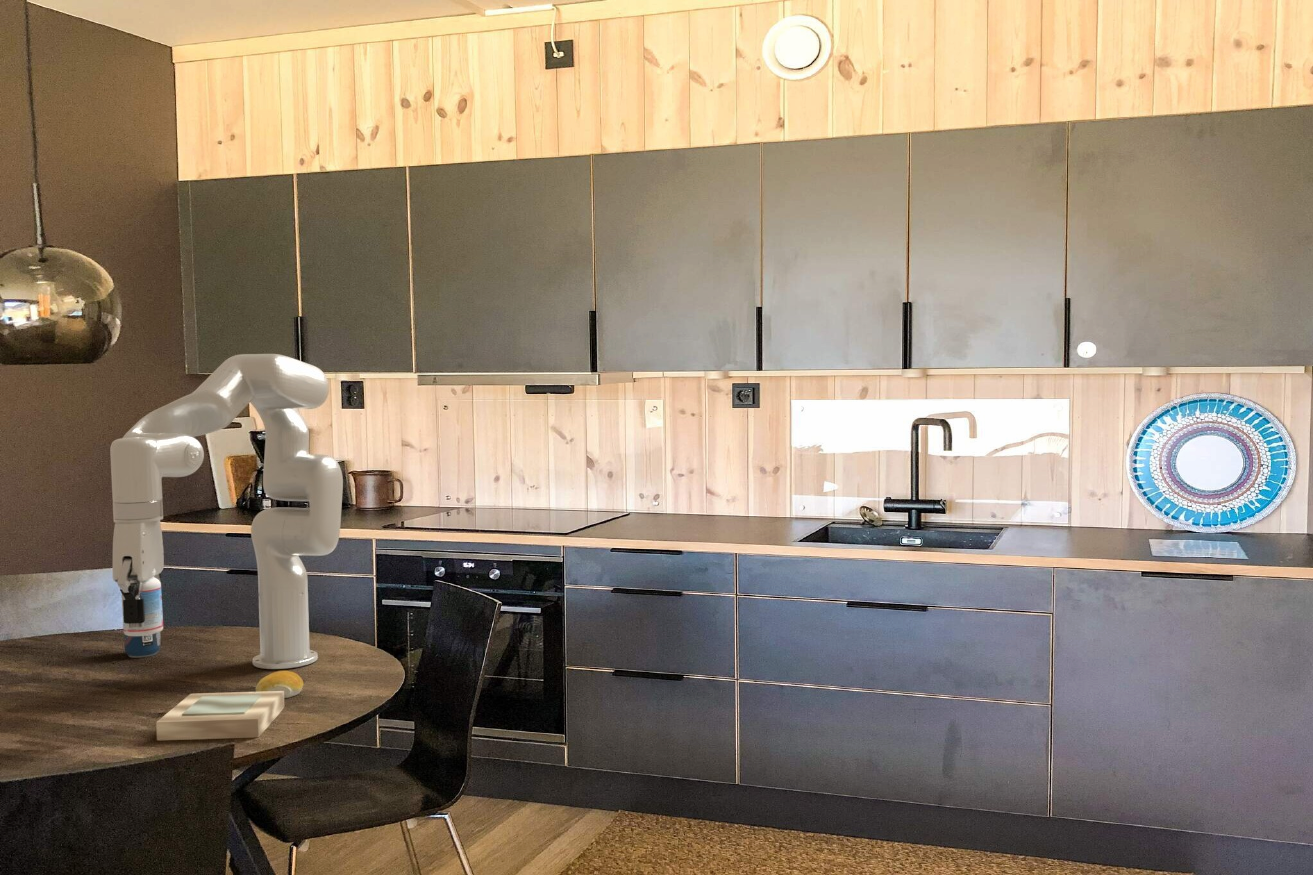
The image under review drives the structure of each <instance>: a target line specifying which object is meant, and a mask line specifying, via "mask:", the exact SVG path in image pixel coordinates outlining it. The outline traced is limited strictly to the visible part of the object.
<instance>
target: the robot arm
mask: <svg viewBox="0 0 1313 875" xmlns="http://www.w3.org/2000/svg"><path fill="white" fill-rule="evenodd" d="M329 392H330V385H329V380H328V378H327V376H326V374H325V373H324V372H323V371H322V369H321V368H320V367H317V366H315V365H313V364H310V363H307V362H304V361H301V360H299V359H296V358H293V357H291V356H287V355H283V354H279V353H278V354H277V353H241V354H234V355H233V356H230V357H229V358H227V359H225V360H224V361H223V362H222V363H221V364H220V365H219V366H218V367H217V368H216V369H215V370H214V371H213V372H212V373H211V374H210V375H209V376H208V377H207V378H206V379H205V380H204V381H203V382H202V383H201V384H200V385H199V386H198V387H197V388H196V389H195V390H193V392H191V393H190V394H187V395H184V396H182V397H180V398H177V399H176V400H174V401H172V402H170V403H167V404H165V405H163V406H161V407H158V408H157V409H154V410H153V411H151V412H149V413H147V414H146V415H145V416H143V417H142V418H140V419H139V420H138V421H137V422H136V423H135V424H134V425H133V426H132V427H130V428H129V430H128V431H127V432H125V434H124V435H123V437H122V438H117V439H115V440H113V441H112V442H111V445H110V448H109V449H110V450H109V452H110V453H109V454H110V469H111V470H110V471H111V491H112V492H111V494H112V514H113V516H112V517H113V522H114V528H113V537H112V579H113V581H114V582H115V583H116V584H117V586H118V588H119V590H120V594H121V593H122V594H121V601H122V600H123V612H122V616H123V615H124V623H126V624H132V623H143V622H144V621H145V612H144V599H141V596H142V587H143V581H145V580H148V579H149V578H151V577H153V576H154V578H157V579H158V580H159V581H160V583H161V584H162V582H161V578H162V571H163V570H164V565H165V561H164V560H165V559H164V558H165V555H164V541H163V532H162V530H163V529H162V524H161V520H164V509H163V508H164V505H163V485H162V482H163V481H162V480H163V479H162V478H163V477H164V478H181V477H183V478H184V477H187V476H190V475H192V474H194V473H195V472H196V471H197V470H199V468H200V467H201V466H202V464H203V462H204V457H205V452H204V447H203V446H202V444H201V442H200V441H199V440H198V439H197V438H196V437H199V436H204V435H207V434H211V433H214V432H219V431H221V430H223V429H225V428H227V427H228V426H229V425H230V424H231V423H232V422H233V421H234V420H235V419H236V417H238V416H239V415H240V413H241V412H243V410H244V409H245V408H246V407H247V406H248V405H249V404H251V405H252V407H253V408H254V409H255V411H256V412H257V414H258V416H259V418H260V419H261V421H262V423H263V426H264V431H265V443H264V457H263V458H264V459H263V474H262V486H263V487H262V488H263V491H264V493H265V494H266V496H267V497H269V498H270V499H273V500H277V501H285V502H288V501H289V502H309V503H308V504H309V507H291V506H290V507H280V506H279V507H271V508H270V507H269V508H265V509H264V510H262V511H260V512H258V513H257V514H256V515H255V516H254V518H253V519H252V520H253V521H252V523H251V525H250V526H251V527H250V535H251V541H252V544H253V545H252V546H253V550H254V554H255V559H256V567H257V584H258V585H257V586H258V613H259V614H258V620H259V645H260V646H259V647H260V648H259V649H260V653H259V654H257V655H255V656H254V657H253V658H252V665H253V666H254V667H256V668H259V669H264V670H265V669H266V670H286V669H293V668H299V667H304V666H308V665H310V664H313V663H315V662H316V661H317V660H319V659H318V658H319V657H318V656H319V655H318V652H317V651H315V650H312V649H310V627H309V626H310V624H309V622H310V620H309V619H310V618H309V616H310V615H309V591H308V590H309V589H308V587H309V586H308V584H309V583H308V573H307V570H306V567H305V565H304V563H303V561H302V559H301V558H300V556H311V557H312V556H313V557H318V556H320V557H321V556H327V555H329V554H330V553H332V552H333V551H334V550H335V549H336V548H337V546H338V543H339V540H340V539H339V538H340V535H341V533H340V532H341V523H342V508H343V507H342V506H343V505H342V503H343V491H344V490H343V489H344V478H343V472H342V468H341V467H340V464H339V462H338V461H337V460H336V459H335V458H334V457H332V456H330V455H326V454H321V453H320V454H317V453H315V454H314V453H313V454H310V431H309V430H310V429H309V426H308V424H307V421H306V419H305V418H304V417H303V415H302V413H301V412H300V411H299V410H314V409H317V408H319V407H321V406H322V405H323V404H324V403H325V402H327V399H328V396H329ZM154 568H155V571H156V572H155V575H153V574H152V572H153V569H154ZM152 575H153V576H152ZM130 577H138V578H137V579H138V580H129V579H130ZM133 585H137V586H136V590H135V588H134V586H133Z"/></svg>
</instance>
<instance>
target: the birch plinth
mask: <svg viewBox="0 0 1313 875" xmlns="http://www.w3.org/2000/svg"><path fill="white" fill-rule="evenodd" d="M284 709H285V698H284V691H264V692H256V691H239V692H237V691H236V692H231V691H230V692H208V693H207V692H203V693H190V694H188V695H187V696H186V697H185V698H184V699H183V700H181V701H180V702H179V703H177V705H175V706H173V707H172V709H170V710H169V711H168V712H166V714H164V715H163V716H162V717H161V718H159V719H158V720H157V721H156V722H155V724H156V725H155V726H156V728H155V729H156V741H180V740H181V741H182V740H183V741H186V740H189V741H190V740H208V739H209V740H212V739H213V740H214V739H215V740H216V739H217V740H218V739H244V738H249V739H250V738H259V737H260V736H261V735H262V734H263V733H264V732H265V730H267V728H269V726H270V725H271V724H272V723H273V722H274V720H275V719H276V718H277V717H278V716H279V715H280V714H281V712H282V711H283V710H284Z"/></svg>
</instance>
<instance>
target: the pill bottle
mask: <svg viewBox="0 0 1313 875" xmlns="http://www.w3.org/2000/svg"><path fill="white" fill-rule="evenodd" d="M155 572H156V571H155V568H154V569H153V572H152V574H153V575H155ZM153 575H152V576H153ZM137 578H138V577H130V579H129V580H138V579H137ZM160 582H161V580H160V581H159V580H158V579H157V578H154V576H153V577H151V578H149V579H148V580H145V581H143V587H142V596H141V599H144V612H145V621H144V622H143V623H132V624H126V623H124V615H123V614H122V625H123V626H122V627H123V635H124V634H125V635H128V636H147V635H151V634H155V633H158V632H160V633H161V632H162V631H163V630H164V618H163V617H164V616H163V615H164V614H163V600H162V596H163V595H162V582H161V583H160ZM133 586H134V588H135V590H136V586H137V585H133ZM120 594H121V595H122V593H121V592H120ZM121 609H122V610H121V613H123V600H122V599H121Z"/></svg>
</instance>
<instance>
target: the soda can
mask: <svg viewBox="0 0 1313 875" xmlns="http://www.w3.org/2000/svg"><path fill="white" fill-rule="evenodd" d="M123 636H124V637H123V640H124V643H123V645H124V646H123V647H124V652H125V653H126V655H127V656H128V657H129V658H138V659H139V658H146V657H147V658H148V657H152V656H156V655H157V654H158V652H159V651H160V649H161V648H162V646H161V642H162V641H161V639H162V638H161V632H158V633H155V634H151V635H147V636H128V635H125V634H124V633H123Z"/></svg>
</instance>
